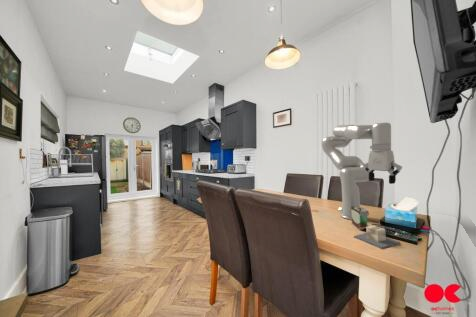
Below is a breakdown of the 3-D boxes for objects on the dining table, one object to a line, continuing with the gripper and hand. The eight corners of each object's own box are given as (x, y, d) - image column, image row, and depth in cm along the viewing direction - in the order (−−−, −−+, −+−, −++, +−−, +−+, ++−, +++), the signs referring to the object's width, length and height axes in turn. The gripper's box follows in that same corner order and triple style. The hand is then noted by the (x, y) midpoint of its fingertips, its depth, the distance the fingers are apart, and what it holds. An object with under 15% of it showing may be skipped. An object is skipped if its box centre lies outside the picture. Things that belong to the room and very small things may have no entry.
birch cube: (366, 237, 83) (366, 226, 83) (374, 235, 85) (373, 225, 85) (377, 242, 78) (377, 230, 78) (385, 240, 80) (385, 229, 80)
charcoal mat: (354, 237, 85) (354, 235, 85) (371, 233, 89) (371, 231, 89) (381, 248, 74) (381, 247, 74) (400, 243, 78) (400, 242, 78)
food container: (374, 232, 90) (373, 212, 90) (361, 231, 91) (360, 212, 91) (362, 223, 102) (362, 206, 102) (350, 223, 103) (350, 205, 104)
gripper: (359, 148, 96) (359, 180, 97) (395, 147, 80) (395, 185, 80) (369, 148, 99) (369, 179, 99) (407, 147, 82) (406, 184, 83)
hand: (381, 181), depth 90 cm, fingers open, 9 cm apart
